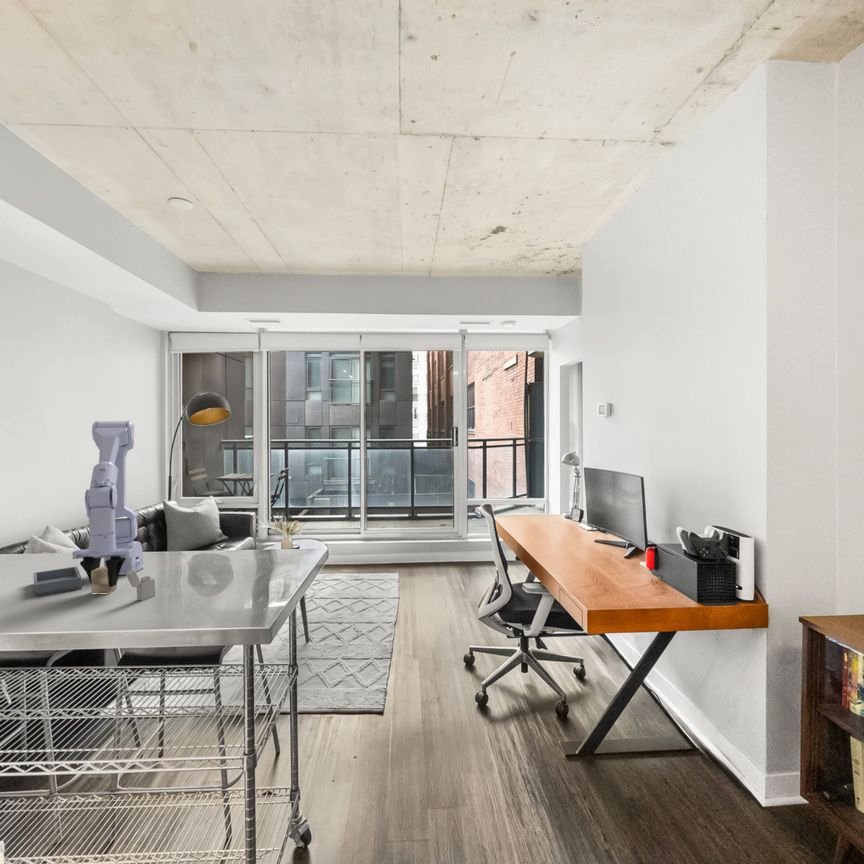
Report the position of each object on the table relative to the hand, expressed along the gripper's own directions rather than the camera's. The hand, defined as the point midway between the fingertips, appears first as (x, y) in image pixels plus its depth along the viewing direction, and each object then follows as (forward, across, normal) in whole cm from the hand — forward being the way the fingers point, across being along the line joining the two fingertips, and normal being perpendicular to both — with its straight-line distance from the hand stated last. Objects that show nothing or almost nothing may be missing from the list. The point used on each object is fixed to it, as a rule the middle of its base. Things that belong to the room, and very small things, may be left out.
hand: (104, 585), depth 140 cm
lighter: (+2, +13, -6) cm, 15 cm away
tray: (+2, -16, +6) cm, 17 cm away
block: (+2, 0, 0) cm, 2 cm away
